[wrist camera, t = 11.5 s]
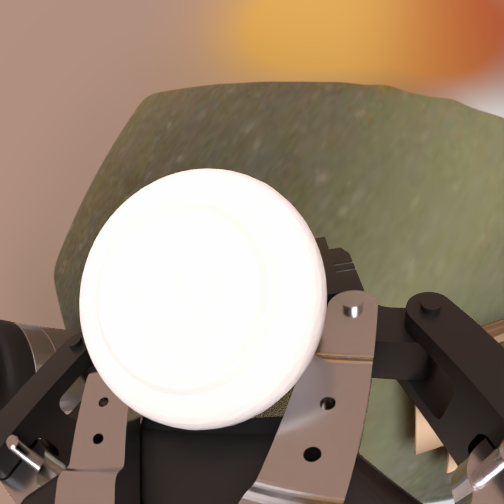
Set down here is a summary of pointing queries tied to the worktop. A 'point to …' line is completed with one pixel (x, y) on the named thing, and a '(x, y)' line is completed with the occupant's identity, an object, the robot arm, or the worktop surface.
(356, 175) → the worktop surface
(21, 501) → the robot arm
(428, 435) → the carton
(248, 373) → the sprinkles bottle
